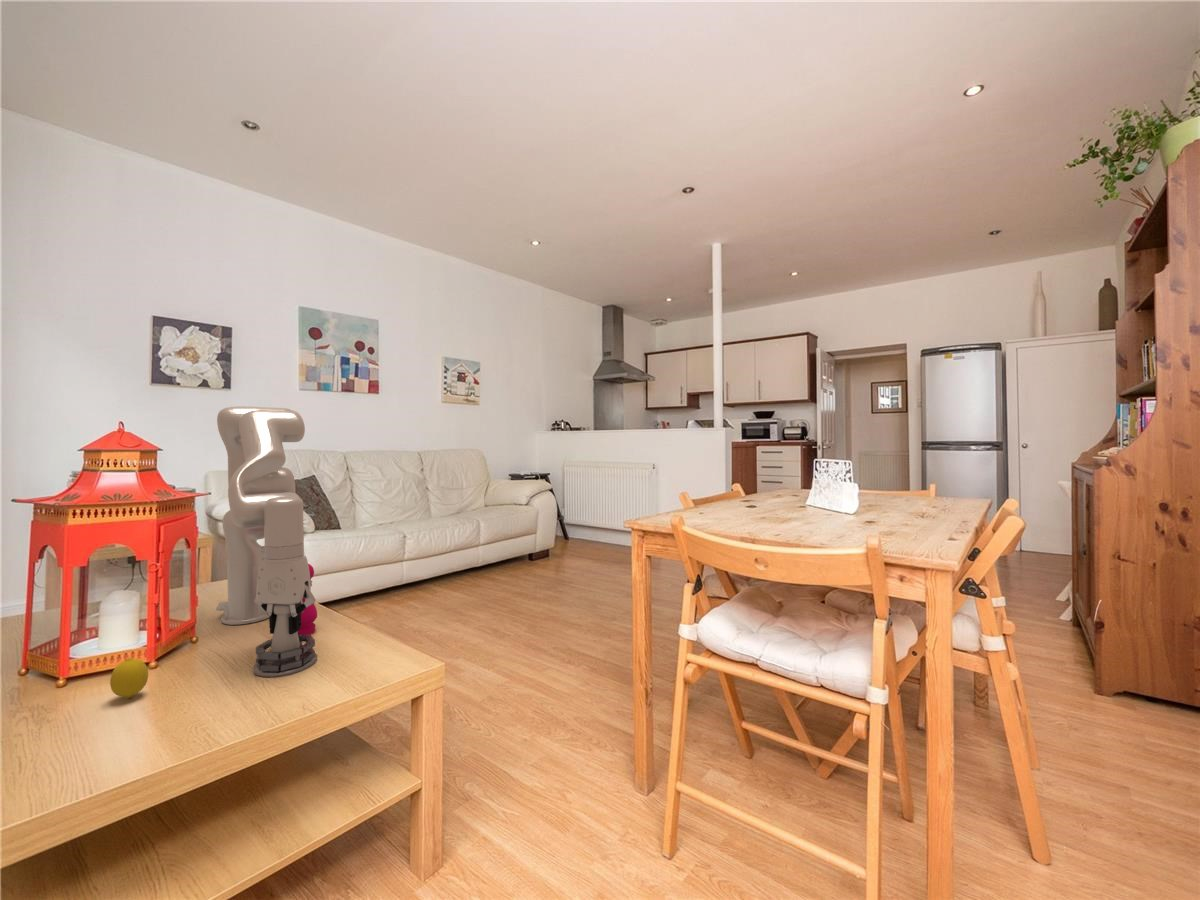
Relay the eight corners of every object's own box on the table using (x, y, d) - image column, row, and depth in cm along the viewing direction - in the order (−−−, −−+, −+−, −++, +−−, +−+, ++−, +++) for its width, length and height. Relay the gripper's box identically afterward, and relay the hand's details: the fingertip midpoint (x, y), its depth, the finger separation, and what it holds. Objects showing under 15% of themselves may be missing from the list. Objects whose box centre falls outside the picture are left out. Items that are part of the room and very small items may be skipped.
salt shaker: (271, 655, 118) (271, 599, 117) (300, 650, 120) (300, 596, 120) (269, 666, 112) (268, 607, 112) (299, 661, 115) (298, 603, 114)
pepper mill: (323, 628, 138) (322, 554, 137) (305, 639, 131) (304, 561, 130) (298, 627, 138) (297, 553, 138) (279, 637, 131) (277, 560, 131)
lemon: (118, 694, 103) (117, 654, 102) (153, 689, 105) (152, 650, 105) (104, 707, 98) (103, 666, 97) (141, 702, 100) (140, 661, 100)
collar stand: (239, 676, 110) (238, 654, 110) (278, 652, 123) (277, 632, 123) (295, 678, 110) (294, 656, 110) (328, 653, 122) (328, 633, 122)
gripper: (236, 554, 112) (237, 637, 113) (310, 556, 111) (310, 639, 112) (260, 547, 120) (261, 624, 120) (329, 548, 119) (330, 626, 119)
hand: (285, 630), depth 116 cm, fingers closed on salt shaker, 3 cm apart
